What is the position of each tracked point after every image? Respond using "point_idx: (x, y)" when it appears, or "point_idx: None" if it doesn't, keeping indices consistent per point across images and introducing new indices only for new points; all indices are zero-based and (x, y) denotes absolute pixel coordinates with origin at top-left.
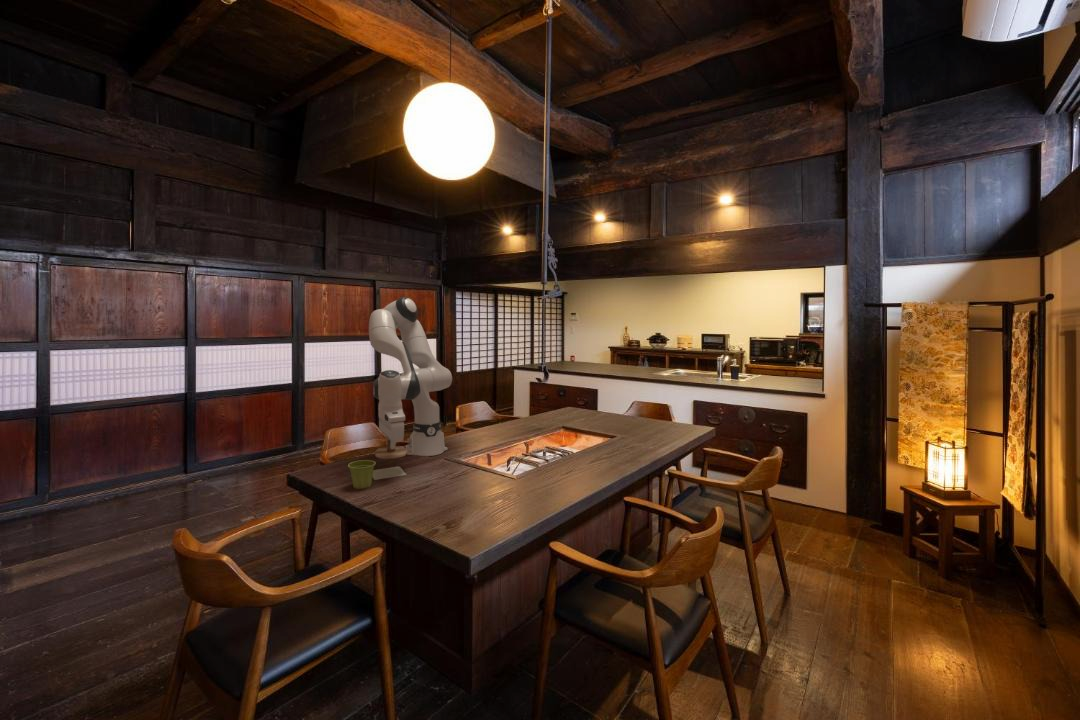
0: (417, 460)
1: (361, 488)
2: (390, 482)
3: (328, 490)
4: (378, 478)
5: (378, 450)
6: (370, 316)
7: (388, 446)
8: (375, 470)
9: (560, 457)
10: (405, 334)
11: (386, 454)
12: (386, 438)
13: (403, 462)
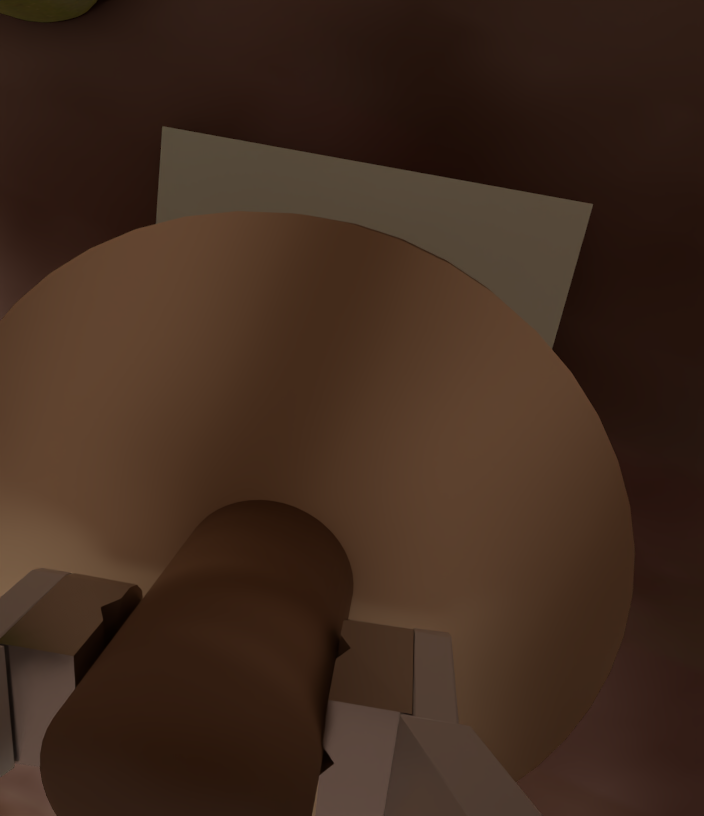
0: (582, 800)
1: None
2: (28, 275)
3: None
4: (185, 190)
5: (469, 370)
6: None
7: (170, 584)
8: (541, 292)
9: None
10: None
11: (66, 397)
12: (457, 814)
13: (634, 680)
